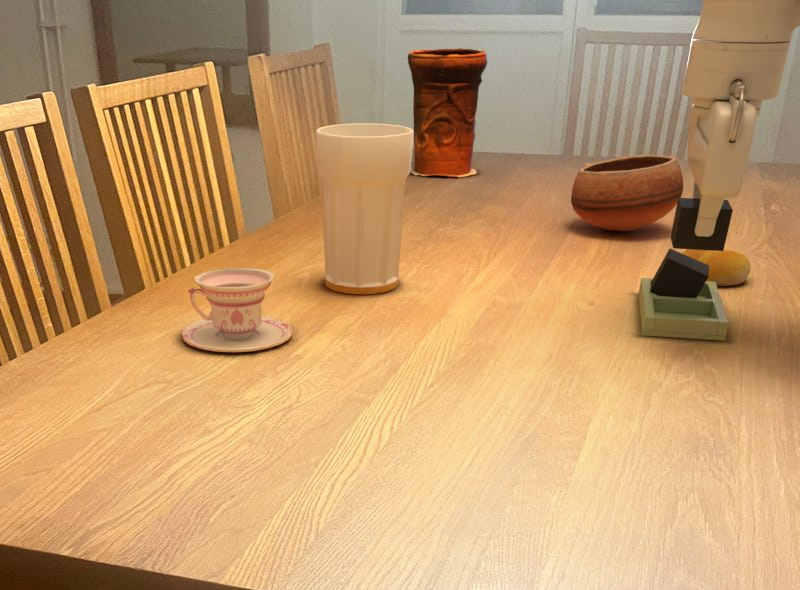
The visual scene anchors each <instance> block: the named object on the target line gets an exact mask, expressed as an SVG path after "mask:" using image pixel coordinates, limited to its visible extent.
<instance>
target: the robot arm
mask: <svg viewBox="0 0 800 590" xmlns="http://www.w3.org/2000/svg"><path fill="white" fill-rule="evenodd" d="M799 27H800V0H702V8H701V12H700V16H699V19H698V22H697V24H696V26H695V27H694V31H693V33H692V37H691V41H690V48H689V53H688V59H687V63H686V69H685V73H684V79H683V85H682V90H681V94H682V95H683V96H686V97H689V98H692V102H691V110H690V111H691V112H690V121H689V130H688V139H687V151H686V153H687V155H686V156H687V157H686V158H687V164H688V167H689V168H690V171H691V172H692V176H693V178H694V181H693V190H692V198H696V199H701V200H700V206H699V211H698V215H697V218H696V223H695V228H694V230H695V234H696V235H697V236H704V237H709V236H711V235H712V234H713V233H714V228H715V224H716V220H717V217H718V215H719V212H720V210H721V207H722V205H723V202H724V200H725V198H726V199H735V198H737V197H738V196H739V195H740V193H741V191H742V188H743V185H744V182H745V179H746V178H745V177H746V172H747V167H748V164H749V158H750V154H751V149H752V144H753V139H754V133H755V127H756V120H757V117H759V116H760V112H761V107H762V104H763V101H767V100H768V101H769V100H774V99H776V98H777V97H778V95H779V91H780V87H781V83H782V79H783V74H784V70H785V67H786V63H787V58H788V53H789V49H790V46H791V41H792V38H793V37H792V36H793V34H794V32H795V30H797V29H798V28H799Z"/></svg>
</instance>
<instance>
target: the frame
mask: <svg viewBox="0 0 800 590" xmlns="http://www.w3.org/2000/svg"><path fill="white" fill-rule="evenodd" d="M653 278H654V277H641V278H640V283H639V289H638V295H637V296H638V305H639V316H640V325H641V326H640V327H641V335H642V336H646V337H660V338H661V337H662V338H676V339H689V340H691V339H692V340H704V341H721V342H725V341H726V336H727V332H728V329H729V325H730V322H729V318H728V315H727V313H726V309H725V306H724V304H723V300H722V298H721V295H720V292H719V288H718V286H716V283H715V282H707V281H706V282H705V284H704V286H703V287H702V289H701V291H700V293H699V294H698V296H697V298H683V297H667V296H658V295H656V294H653V293H651V292H650V288H651V283H652V280H653Z"/></svg>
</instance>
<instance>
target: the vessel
mask: <svg viewBox="0 0 800 590" xmlns="http://www.w3.org/2000/svg"><path fill="white" fill-rule="evenodd" d="M407 63H408V67H409V70H410V74H411V75H410V76H411V81H412V86H413V87H412V88H413V98H412V99H413V100H412V101H413V102H412V103H413V104H412V105H413V106H412V107H413V109H412V113H413V114H412V115H413V131H414V134H413V155H414V156H413V157H414V165H413V164H411V172H410V174H413V175H414V176H422V177H428V176H441V177H443V176H444V177H445V176H446V177H448V178H464V177H470V176H473V175H476V174H478V172H477V170H476V169H475V168H472V163H473V153H474V146H475V145H474V144H475V140H476V132H475V131H476V130H475V128H476V124H477V121H476V115H477V111H478V101H479V91H480V90H479V89H480V85H481V84H482V83H483V80H482V75H483V73H484V72H485V70H486V68H487V65H488V56H487V53H486V51H485V50H484V49H481V50H478V49H473V48H461V47H459V48H458V47H457V48H438V49H417V50H416V49H413V50H411V51H409V52H408V54H407Z"/></svg>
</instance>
